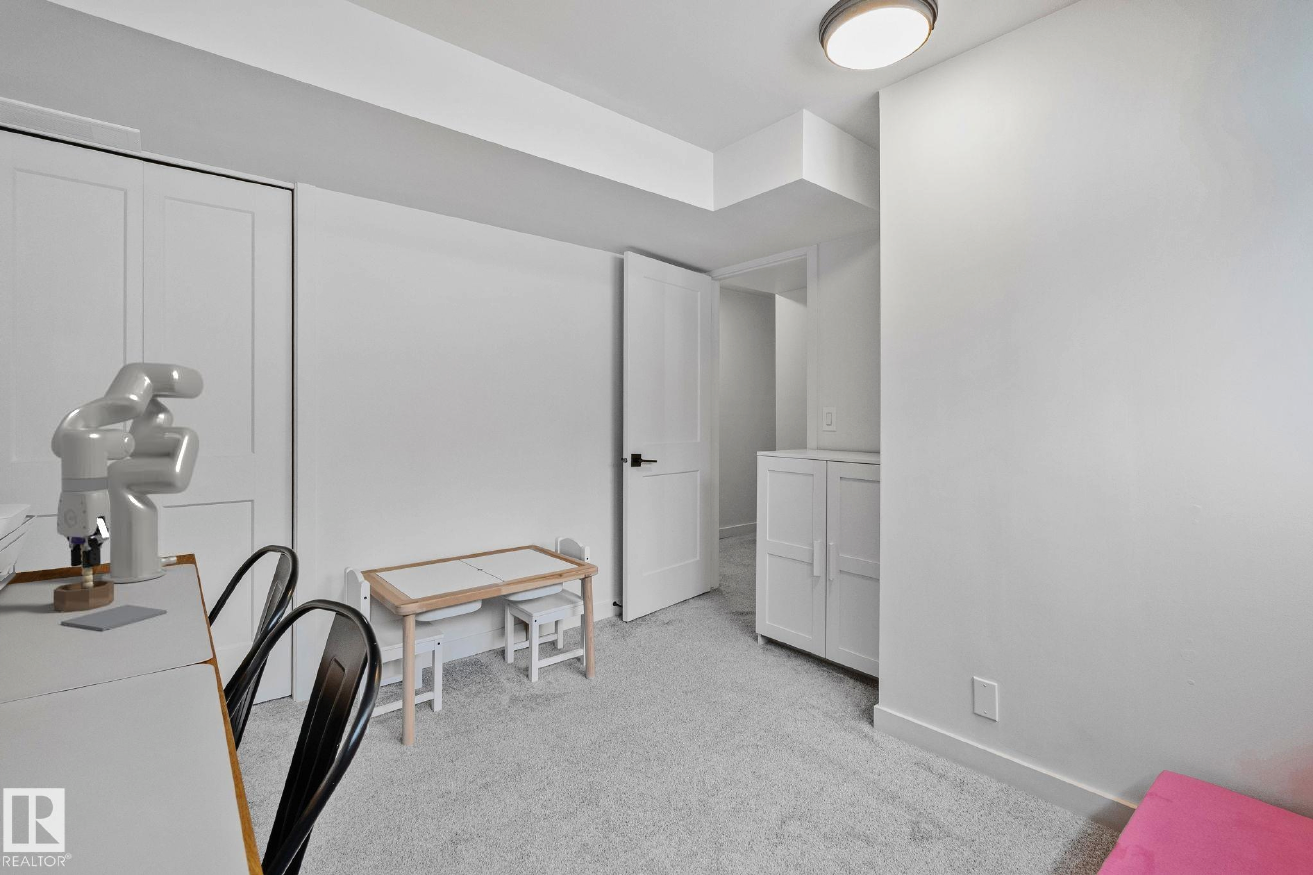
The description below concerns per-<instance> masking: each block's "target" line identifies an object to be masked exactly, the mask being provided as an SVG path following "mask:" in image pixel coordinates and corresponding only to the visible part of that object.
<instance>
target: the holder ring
mask: <svg viewBox="0 0 1313 875" xmlns="http://www.w3.org/2000/svg"><path fill="white" fill-rule="evenodd" d="M92 582H93V587H94V588H91V589H84V588H83V581H82V580H81V581H76V582H71V583H66V584H62V585H59V586H58V587H56V588H55V589H53V611H54V612H61V611H62V612H63V613H71V612H72V611H73V612H81V611H90V610H93V609H98V608H102V606H103V607H105V606H109V605H111V604H112V603H113V602H114V601H115V583H114V581H109V580H102V579H93V580H92ZM81 589H83V590H81Z"/></svg>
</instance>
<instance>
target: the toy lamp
mask: <svg viewBox="0 0 1313 875" xmlns="http://www.w3.org/2000/svg"><path fill="white" fill-rule="evenodd" d="M93 535H96V532H95V533H94V534H93ZM89 536H92V535H89ZM93 539H96V538H92V539H90V542H91V541H92V540H93ZM71 543H72V544H80V547H81V549H82V550H81V555H82V551H84V550H85V549H84V543H85V541H84V538H78V537H72V539H71ZM81 561H82V557H81ZM80 566H81V567H80V568H81V576H82V577H81V581H83V588H84V589H91V588H94V587H93V582H92V580H94V578H93V577H94V576H93V569H92V568H93V567H90V568H83V567H82V564H81V565H80ZM81 590H83V589H81Z"/></svg>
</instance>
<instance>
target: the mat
mask: <svg viewBox="0 0 1313 875" xmlns="http://www.w3.org/2000/svg"><path fill="white" fill-rule="evenodd" d="M167 613H168V612H167V609H166V610H165V609H162V608H161V609H159V608H152V607H146V606H139V605H130V604H124V605H121V606H116V607H113V608H108V609H105V610H100V611H97V612H93V613H88V614H85V615H82V616H78V617H74V618H70V619H67V620H61V621H60V622H61V623H60V625H62V624H66V625H65V626H68V625H70V627H74V626H77V627H76V628H80V627H82V628H81V629H87V628H89V629H88V630H93V629H97V630H96V631H99V630H100V631H99V632H104V631H108V630H107V629H109V630H111V628H112V629H116V628H120V627H123V626H126V625H130V624H133V623H137V622H140V621H144V620H147V619H151V618H154V617H158V616H162V615H165V614H167Z"/></svg>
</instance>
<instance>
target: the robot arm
mask: <svg viewBox="0 0 1313 875" xmlns="http://www.w3.org/2000/svg"><path fill="white" fill-rule="evenodd" d="M203 389H204V379H203V377H202V375H201V373H200V372H198V371H197V369H196V370H195V369H193V368H190V367H186V366H183V365H179V364H174V363H159V362H157V363H156V362H131V363H127V364H125V365H123V366H122V367H121V368H120V369H119V371H118V372H117V374H116V375H115V377H114V379H113V380H112V382H111V384H110V386H109V387H108V389H107V391H106V392H105V394H104V396H101V397H100V398H96V399H94V400H92V401H89V402H87V403H84V404H83V405H81V406H79V407H77V408H75V409H73V410H72V411H70V412H69V413H67V414H66V415H65V416H64V418H63V419H61V421H60V423H59V424H58V426H57V428H56V430H55V431H54V433H53V435H52V438H51V441H50V442H51V444H50V448H51V451H52V453H53V455H54V456H56V457H57V458H58V459H60V460H61V462H60V463H61V464H60V466H61V468H60V470H61V476H60V477H61V492H60V494H59V499H58V505H57V517H56V533H58V534H59V535H60V536H63V537H64V538H65V539H66V540H67V542H68V544H69V545H68V548H69V549H70V566H71V567H80V566H81V564H82V567H83V568H90V567H91V568H94V567H98V566H100V565H101V564H102V562H101V561H102V559H101V552H102V551H101V549H102V548H103V544H104V542H106V541H108V540H109V548H110V549H109V562H110V563H109V572H108V573H106V574H103V575H102V576H101V580H109V581H114V584H123V583H134V582H143V581H147V580H148V581H149V580H153V579H156V578H160V577H162V576H163V575H165V574H166V569H165V568H163V567H165V565H171V564H176V563H177V561H178V560H177V557H176V556H175V555H172V556H167V557H163V556H158V552H159V548H158V546H159V544H158V543H159V541H158V540H159V538H158V537H159V534H158V532H159V530H158V529H159V527H158V526H159V522H158V520H159V510H158V508H157V505H156V504H155V503H154V502H153V500H152V499H151V498H150V497H149V495H170V494H171V495H172V494H180V493H183V492H185V491H186V490H187V489H188V487H189V485H190V483H191V480H192V476H193V472H194V470H195V466H196V462H197V458H198V454H199V450H200V439H199V435H198V433H197V432H196V431H195V430H194V429H193V428H190V427H186V426H173V423H174V415H173V413H172V411H171V410H170V409H169V408H168V407H167V406H166V405H165V404H163V403H162V402H161V401H160V400H159V398H160V399H161V398H162V399H164V398H165V399H190V400H191V399H196V398H198V397H199V396H200V395H201V394H202V393H203V391H204V390H203ZM131 420H132V422H131V425H130V427H129V430H128V431H127V430H124V429H119V428H102V427H106V426H111V425H115V424H120V423H124V422H128V421H131ZM108 461H113V462H111V463H110V464H109V465H108ZM95 532H96V535H93V534H94V533H95ZM89 535H92V536H89ZM72 537H78V538H84V541H85V543H84V549H85V550H84V551H82V555H81V550H82V549H81V547H80V544H72V543H71V539H72ZM92 538H96V539H93V540H92V541H91V542H90V539H92ZM81 557H82V561H81ZM82 567H81V568H82Z"/></svg>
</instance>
